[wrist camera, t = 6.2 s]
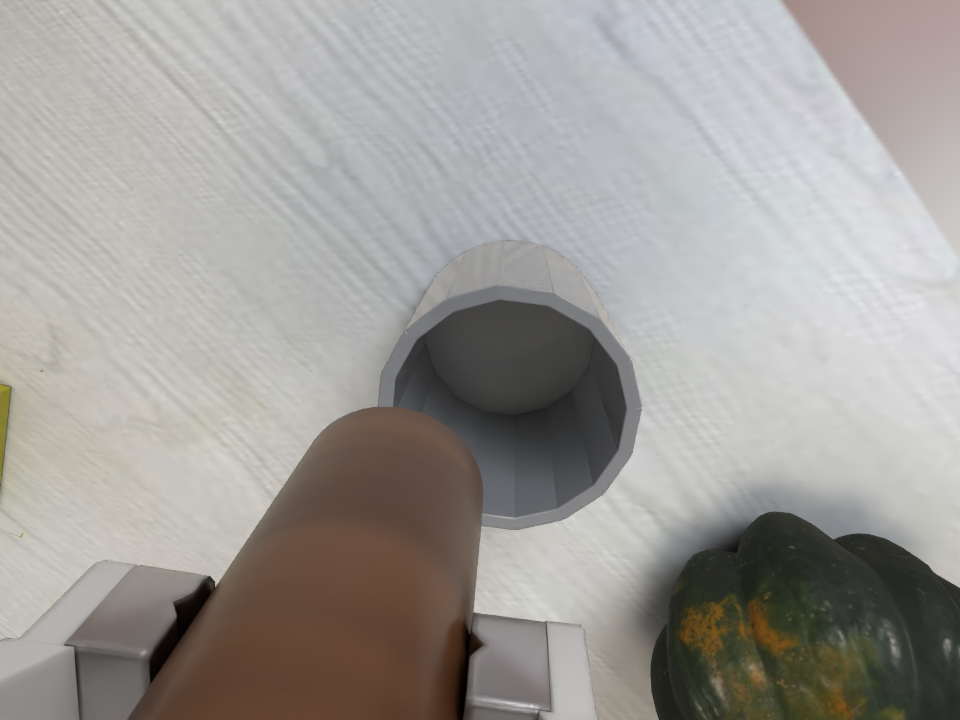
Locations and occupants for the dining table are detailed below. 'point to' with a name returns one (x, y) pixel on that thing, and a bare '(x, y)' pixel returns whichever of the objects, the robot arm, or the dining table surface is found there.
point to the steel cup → (521, 379)
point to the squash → (808, 631)
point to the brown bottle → (343, 587)
